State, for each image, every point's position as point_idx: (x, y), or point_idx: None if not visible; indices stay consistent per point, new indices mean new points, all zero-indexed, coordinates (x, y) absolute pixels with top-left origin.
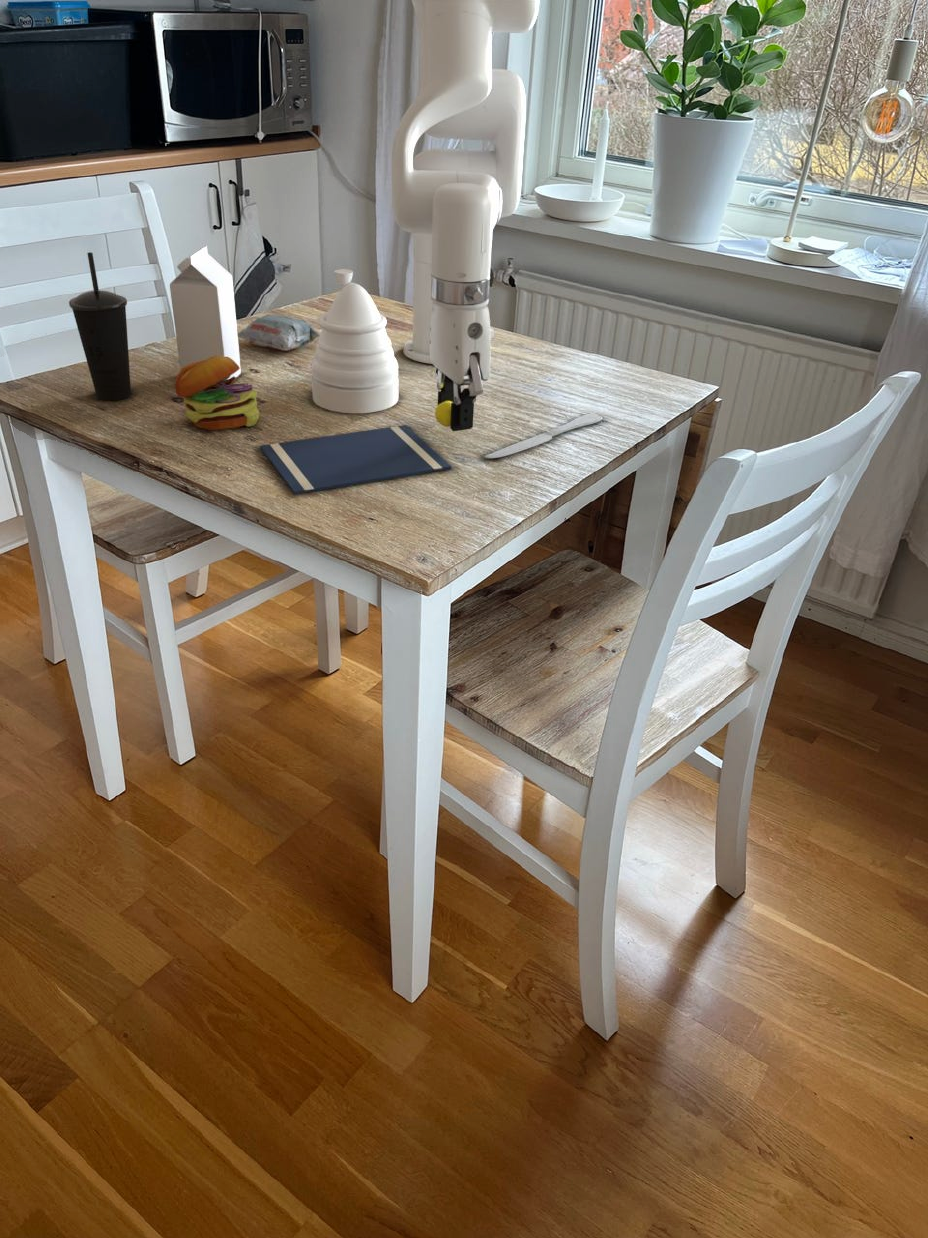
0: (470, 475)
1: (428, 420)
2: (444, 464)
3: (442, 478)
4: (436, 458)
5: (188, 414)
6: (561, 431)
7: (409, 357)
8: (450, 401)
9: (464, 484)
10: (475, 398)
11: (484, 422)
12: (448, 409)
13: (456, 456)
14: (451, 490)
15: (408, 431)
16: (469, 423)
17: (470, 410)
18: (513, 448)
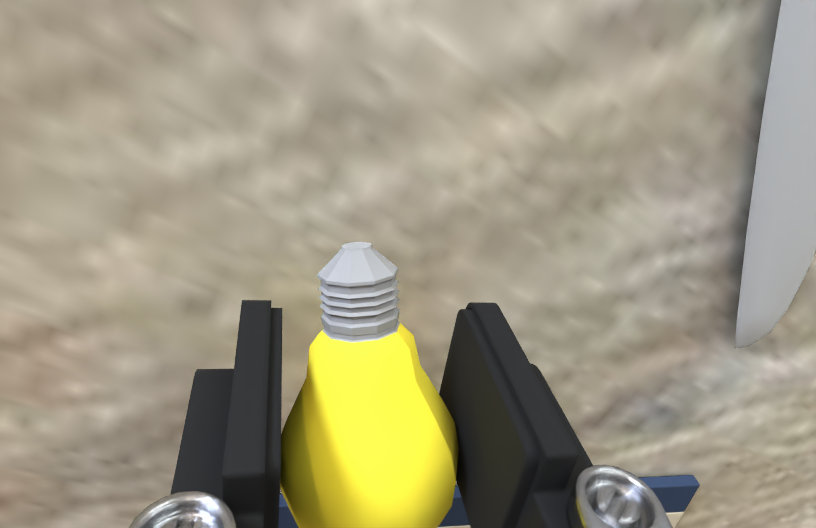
0: (781, 438)
1: (117, 376)
2: (669, 498)
3: (720, 514)
4: None
5: None
6: None
7: None
8: (366, 515)
9: (807, 476)
10: (663, 510)
11: (290, 49)
12: (437, 521)
13: (619, 421)
14: (799, 516)
15: (285, 520)
16: (533, 365)
17: (577, 439)
18: (801, 166)
